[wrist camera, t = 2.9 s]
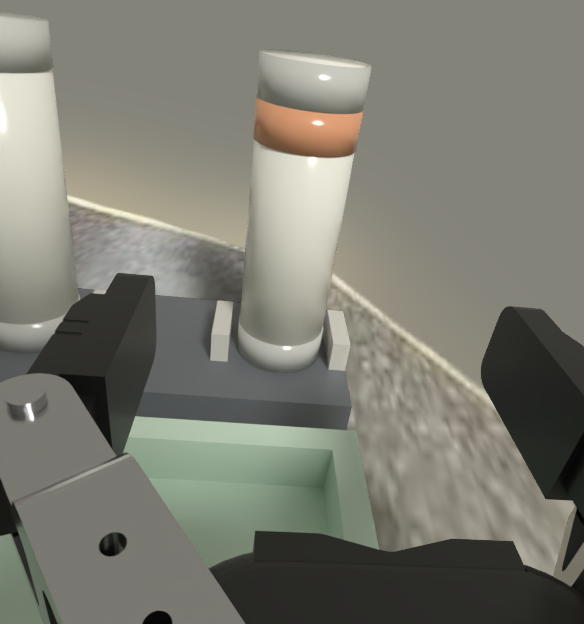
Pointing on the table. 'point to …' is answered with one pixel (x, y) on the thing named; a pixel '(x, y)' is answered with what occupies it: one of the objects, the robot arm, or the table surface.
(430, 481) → the table surface
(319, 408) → the clip block
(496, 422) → the table surface
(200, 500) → the tray
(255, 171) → the cylinder
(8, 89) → the plain fuse
